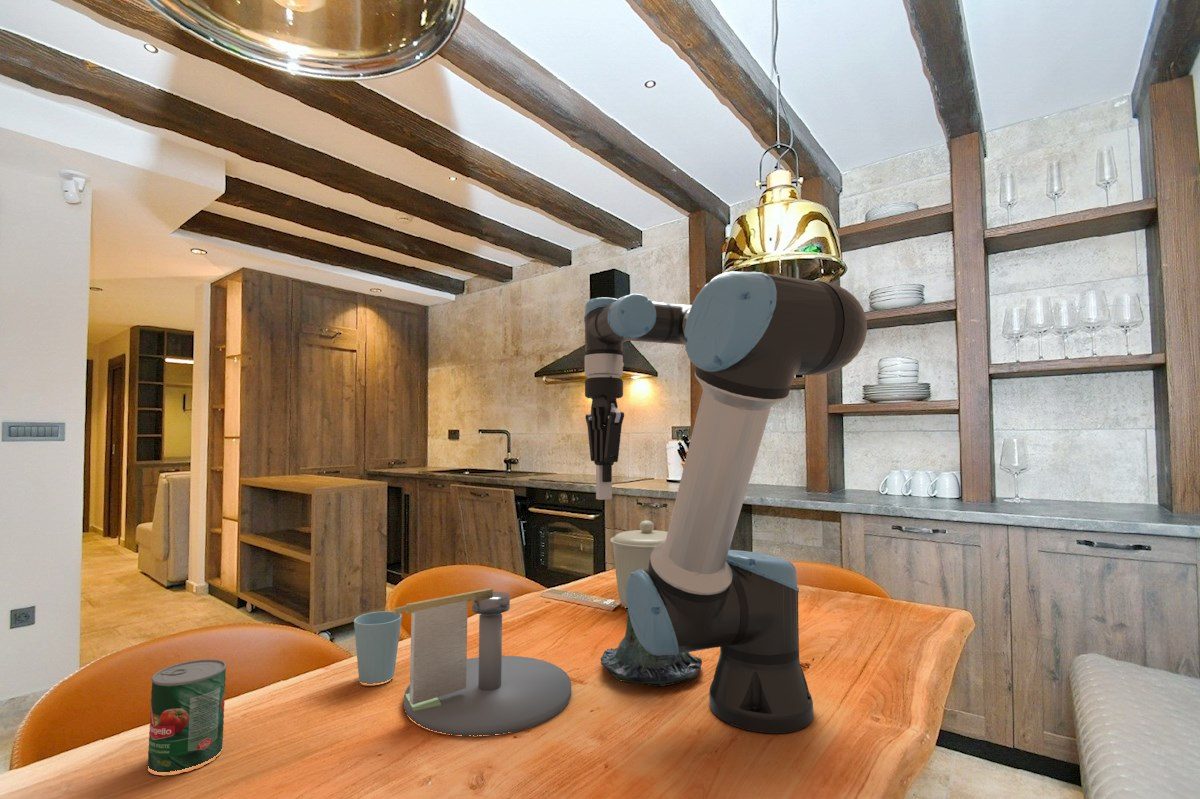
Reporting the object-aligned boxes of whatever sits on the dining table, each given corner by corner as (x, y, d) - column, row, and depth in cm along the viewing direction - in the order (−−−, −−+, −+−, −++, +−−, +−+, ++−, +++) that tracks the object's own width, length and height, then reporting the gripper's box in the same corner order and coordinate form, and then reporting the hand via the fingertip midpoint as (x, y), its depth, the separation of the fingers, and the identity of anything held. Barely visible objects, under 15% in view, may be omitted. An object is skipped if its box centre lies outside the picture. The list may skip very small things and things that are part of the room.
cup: (345, 691, 94) (348, 625, 94) (358, 672, 101) (360, 611, 102) (394, 688, 95) (396, 623, 95) (403, 670, 102) (405, 610, 103)
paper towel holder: (597, 714, 86) (597, 627, 87) (415, 753, 75) (417, 654, 76) (540, 655, 109) (540, 588, 110) (395, 679, 98) (397, 604, 99)
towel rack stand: (496, 668, 96) (497, 582, 97) (516, 680, 92) (516, 589, 93) (384, 701, 84) (386, 602, 85) (400, 716, 80) (402, 611, 81)
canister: (601, 615, 135) (601, 524, 136) (620, 595, 152) (620, 514, 153) (678, 622, 129) (677, 527, 131) (689, 601, 147) (688, 517, 148)
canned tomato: (236, 742, 78) (239, 658, 78) (197, 776, 70) (201, 682, 71) (175, 743, 77) (180, 659, 78) (130, 777, 69) (135, 683, 70)
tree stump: (715, 659, 109) (713, 570, 106) (687, 733, 91) (683, 629, 88) (624, 640, 116) (620, 557, 113) (582, 705, 98) (576, 608, 95)
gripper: (636, 375, 109) (637, 501, 107) (606, 381, 121) (606, 495, 119) (600, 373, 106) (600, 503, 104) (573, 380, 117) (573, 496, 116)
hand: (604, 498), depth 111 cm, fingers closed
